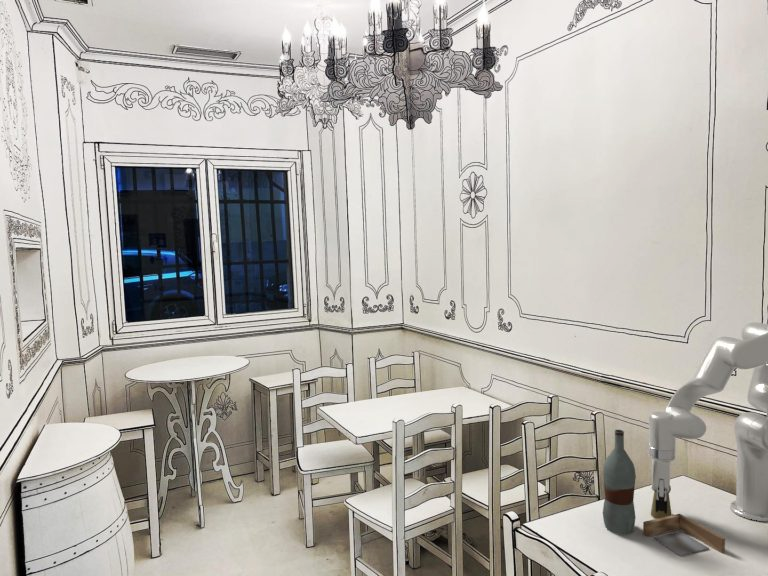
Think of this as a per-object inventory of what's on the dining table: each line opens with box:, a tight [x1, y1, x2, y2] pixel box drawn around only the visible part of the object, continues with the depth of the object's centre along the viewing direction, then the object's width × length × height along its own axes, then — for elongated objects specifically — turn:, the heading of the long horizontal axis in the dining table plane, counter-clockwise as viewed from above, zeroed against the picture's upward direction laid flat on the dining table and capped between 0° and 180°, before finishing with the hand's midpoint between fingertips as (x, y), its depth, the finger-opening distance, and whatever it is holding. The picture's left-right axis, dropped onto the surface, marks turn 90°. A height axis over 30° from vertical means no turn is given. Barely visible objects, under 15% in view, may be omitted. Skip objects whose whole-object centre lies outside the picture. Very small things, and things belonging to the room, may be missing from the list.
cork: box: [650, 485, 673, 519], centre depth 177 cm, size 6×6×11 cm
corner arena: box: [642, 513, 726, 557], centre depth 161 cm, size 14×15×4 cm
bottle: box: [602, 429, 637, 535], centre depth 169 cm, size 9×9×30 cm
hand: (661, 508), depth 177 cm, fingers closed on cork, 3 cm apart
